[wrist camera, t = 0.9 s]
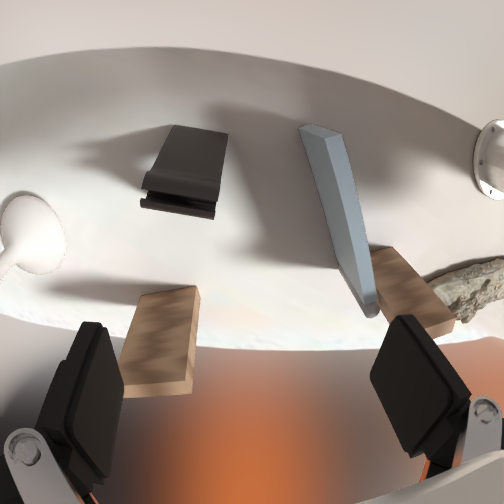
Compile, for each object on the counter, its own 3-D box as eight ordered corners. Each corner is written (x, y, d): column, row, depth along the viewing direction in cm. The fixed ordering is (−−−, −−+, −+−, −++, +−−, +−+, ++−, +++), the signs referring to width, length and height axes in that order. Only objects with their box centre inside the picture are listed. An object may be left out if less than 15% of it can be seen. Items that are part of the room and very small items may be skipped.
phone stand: (174, 124, 31) (148, 136, 21) (228, 133, 32) (229, 150, 22) (162, 200, 35) (135, 246, 25) (212, 209, 36) (206, 259, 26)
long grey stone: (523, 282, 49) (534, 241, 45) (538, 293, 45) (550, 251, 40) (407, 323, 47) (416, 271, 43) (423, 342, 42) (436, 288, 38)
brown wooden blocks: (392, 246, 40) (456, 317, 26) (392, 259, 41) (452, 331, 27) (141, 295, 41) (110, 386, 27) (146, 307, 42) (119, 397, 28)
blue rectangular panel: (351, 268, 41) (380, 314, 32) (339, 273, 41) (365, 320, 32) (311, 123, 32) (343, 132, 23) (296, 128, 32) (322, 139, 23)
